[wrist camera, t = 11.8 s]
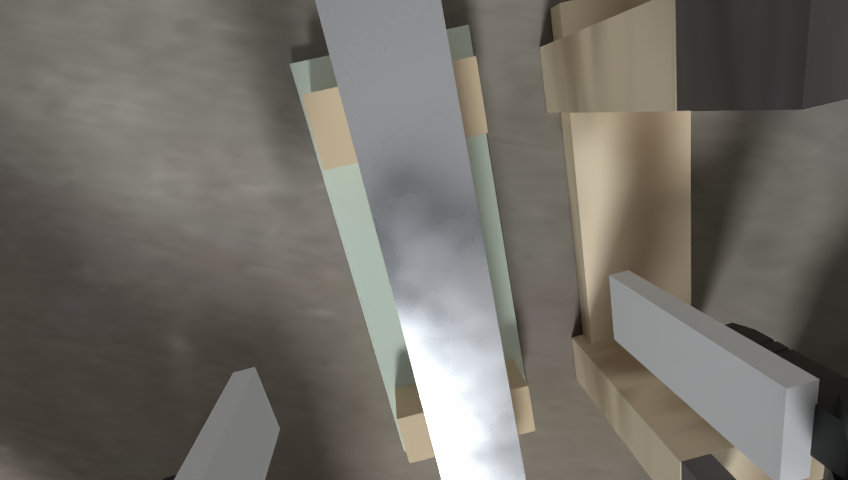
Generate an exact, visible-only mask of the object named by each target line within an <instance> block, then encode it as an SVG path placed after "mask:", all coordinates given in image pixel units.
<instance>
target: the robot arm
mask: <svg viewBox="0 0 848 480" xmlns="http://www.w3.org/2000/svg"><path fill="white" fill-rule="evenodd" d="M609 282H610V294H611V306H612V319H613V331H614V340H616V341H617V342H618V343H619V344H620V345H621V346H622V347H623V348H625V349H626V350H627V351H628V352H629V353H630V354H631V355H632V356H634V357H635V358H636V359H637V360H638V361H639V362H640V363H641V364H643V365H644V366H645V367H646V368H647V369H648V370H649V371H650V372H652V373H653V374H654V375H655V376H656V377H657V378H658V379H659V380H661V381H662V382H663V383H664V384H665V385H666V386H667V387H668V388H670V389H671V390H672V391H673V392H674V393H675V394H676V395H677V396H679V397H680V398H681V399H682V400H683V401H684V402H685V403H686V404H688V405H689V406H690V407H691V408H692V409H693V410H694V411H695V412H697V413H698V414H699V415H700V416H701V417H702V418H703V419H704V420H706V421H707V422H708V423H709V424H710V425H711V426H712V427H713V428H715V429H716V430H717V431H718V432H719V433H720V434H721V435H722V436H724V437H725V438H726V439H727V440H728V441H729V442H730V443H731V444H733V445H734V446H735V447H736V448H737V449H738V450H739V451H740V452H742V453H743V454H744V455H745V456H746V457H747V458H748V459H749V460H751V461H752V462H753V463H754V464H755V465H756V466H757V467H758V468H760V469H761V470H762V471H763V472H764V473H765V474H766V475H767V476H769V477H770V478H771V479H772V480H802V479H805V478H809V477H810V469H811V459H812V457H813V458H815V459H816V460H817V461H819V462H820V463H821V464H823V465H824V466H825V467H827V468H828V469H829V472H828V480H848V379H846V378H844V377H842V376H840V375H838V374H836V373H835V372H833V371H831V370H829V369H827V368H825V367H823V366H822V365H820V364H818V363H816V362H814V361H812V360H810V359H809V358H807V357H805V356H803V355H801V354H799V353H797V352H796V351H794V350H789V348H788V347H786V346H784V345H783V344H781V343H779V342H777V341H776V342H774V341H773V339H771V338H770V337H768V336H766V335H764V334H762V333H760V332H758V331H757V330H755V329H751V328H748V327H745V326H741V325H738V324H735V323H730V324H726V325H724V324H722V323H720V322H718V321H717V320H715V319H713V318H711V317H710V316H708V315H706V314H704V313H703V312H701V311H699V310H697V309H696V308H694V307H692V306H690V305H689V304H687V303H685V302H683V301H682V300H680V299H678V298H676V297H675V296H673V295H671V294H669V293H668V292H666V291H664V290H662V289H661V288H659V287H657V286H655V285H654V284H652V283H650V282H648V281H647V280H645V279H643V278H641V277H640V276H638V275H636V274H634V273H633V272H631V271H629V270H627V271H623V272H619V273H615V274H611V275H609ZM279 431H280V428H279V425H278V423H277V420H276V418H275V415H274V413H273V410H272V408H271V405H270V403H269V400H268V398H267V395H266V393H265V390H264V388H263V385H262V383H261V380H260V378H259V376H258V373H257V371H256V368H255V367H252V368H249V369H245V370H241V371H237V372H233V374H232V375H231V377H230V379H229V381H228V383H227V384H226V386H225V388H224V390H223V392H222V394H221V395H220V397H219V399H218V401H217V403H216V404H215V406H214V408H213V410H212V412H211V414H210V415H209V417H208V419H207V421H206V423H205V424H204V426H203V428H202V430H201V432H200V433H199V435H198V437H197V439H196V441H195V443H194V444H193V446H192V448H191V450H190V452H189V453H188V455H187V457H186V459H185V461H184V462H183V464H182V466H181V468H180V470H179V472H178V473H177V475H175V476H171V477H168V478H164V479H163V480H265V478H266V475H267V472H268V468H269V465H270V462H271V458H272V455H273V451H274V448H275V445H276V441H277V438H278V435H279Z"/></svg>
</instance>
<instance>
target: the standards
mask: <svg viewBox="0 0 848 480" xmlns="http://www.w3.org/2000/svg"><path fill="white" fill-rule="evenodd" d="M550 11H551V21H552V31H553V41H554V42H551V43H549V44H546V45H544V46H542V47H540V56H541V65H542V74H543V83H544V92H545V101H546V110H547V113H561V120H562V130H563V140H564V150H565V160H566V170H567V180H568V190H569V199H570V209H571V219H572V229H573V239H574V249H575V259H576V269H577V279H578V289H579V299H580V309H581V319H582V329H583V335H580V336H576V337H572V344H573V353H574V362H575V371H576V379H577V380H578V382H579V383H580V384H581V386H582V387H583V388H584V390H585V391H586V392H587V394H588V395H589V396H590V398H591V399H592V400H593V402H594V403H595V404H596V406H597V407H598V408H599V410H600V411H601V412H602V414H603V415H604V416H605V418H606V419H607V420H608V422H609V423H610V424H611V426H612V427H613V428H614V430H615V431H616V432H617V434H618V435H619V436H620V438H621V439H622V440H623V442H624V443H625V444H626V446H627V447H628V448H629V450H630V451H631V452H632V454H633V455H634V456H635V458H636V459H637V460H638V462H639V463H640V464H641V466H642V467H643V468H644V470H645V471H646V472H647V474H648V475H649V476H650V478H651V479H652V480H772V479H771V478H770V477H769V476H767V475H766V474H765V473H764V472H763V471H762V470H761V469H760V468H758V467H757V466H756V465H755V464H754V463H753V462H752V461H751V460H749V459H748V458H747V457H746V456H745V455H744V454H743V453H742V452H740V451H739V450H738V449H737V448H736V447H735V446H734V445H733V444H731V443H730V442H729V441H728V440H727V439H726V438H725V437H724V436H722V435H721V434H720V433H719V432H718V431H717V430H716V429H715V428H713V427H712V426H711V425H710V424H709V423H708V422H707V421H706V420H704V419H703V418H702V417H701V416H700V415H699V414H698V413H697V412H695V411H694V410H693V409H692V408H691V407H690V406H689V405H688V404H686V403H685V402H684V401H683V400H682V399H681V398H680V397H679V396H677V395H676V394H675V393H674V392H673V391H672V390H671V389H670V388H668V387H667V386H666V385H665V384H664V383H663V382H662V381H661V380H659V379H658V378H657V377H656V376H655V375H654V374H653V373H652V372H650V371H649V370H648V369H647V368H646V367H645V366H644V365H643V364H641V363H640V362H639V361H638V360H637V359H636V358H635V357H634V356H632V355H631V354H630V353H629V352H628V351H627V350H626V349H625V348H623V347H622V346H621V345H620V344H619V343H618V342H617V341H616V340H614V331H613V319H612V306H611V294H610V282H609V275H611V274H615V273H619V272H623V271H627V270H629V271H631V272H633V273H634V274H636V275H638V276H640V277H641V278H643V279H645V280H647V281H648V282H650V283H652V284H654V285H655V286H657V287H659V288H661V289H662V290H664V291H666V292H668V293H669V294H671V295H673V296H675V297H676V298H678V299H680V300H682V301H683V302H685V303H687V304H689V305H690V306H691V111H720V110H798V109H806V108H810V107H815V106H819V105H823V104H827V103H832V102H836V101H840V100H844V99H848V0H571V1H567V2H562V3H559V4H557V5H556V6H554V7H552V8H551V9H550ZM828 472H829V469H828V468H827V467H825V466H824V465H823V464H821V463H820V462H819V461H817V460H816V459H815V458H813V457H812V459H811V469H810V477H809V478H805V479H802V480H821V479H824V480H828Z"/></svg>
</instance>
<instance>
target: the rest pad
mask: <svg viewBox="0 0 848 480" xmlns="http://www.w3.org/2000/svg"><path fill="white" fill-rule="evenodd" d="M446 31H447V37H448V42H449V48H450V54H451V59H452V65H453V71H454V76H455V82H456V88H457V93H458V99H459V105H460V110H461V116H462V122H463V127H464V133H465V139H466V144H467V150H468V156H469V161H470V167H471V173H472V178H473V184H474V190H475V195H476V201H477V207H478V212H479V218H480V224H481V229H482V235H483V241H484V246H485V252H486V258H487V263H488V269H489V275H490V280H491V286H492V292H493V297H494V303H495V309H496V314H497V320H498V326H499V331H500V337H501V343H502V348H503V354H504V360H505V365H506V371H507V377H508V382H509V388H510V394H511V399H512V405H513V411H514V416H515V422H516V428H517V433H518V435H520V434H524V433H528V432H532V431H535V426H534V419H533V413H532V407H531V400H530V394H529V388H528V384H527V383H526V380H525V374H524V368H523V362H522V355H521V349H520V343H519V337H518V330H517V324H516V318H515V312H514V305H513V299H512V293H511V287H510V280H509V274H508V268H507V262H506V255H505V249H504V243H503V236H502V230H501V224H500V218H499V211H498V205H497V199H496V193H495V186H494V180H493V174H492V168H491V161H490V155H489V149H488V143H487V136H486V133H488V129H487V122H486V116H485V110H484V103H483V97H482V91H481V84H480V78H479V72H478V65H477V59H476V56H474V55H473V49H472V43H471V36H470V30H469V25H464V26H460V27H455V28H451V29H446ZM290 67H291V70H292V74H293V77H294V80H295V84H296V87H297V90H298V94H299V97H300V101H301V104H302V107H303V111H304V114H305V118H306V121H307V124H308V128H309V131H310V134H311V138H312V141H313V145H314V148H315V151H316V155H317V158H318V162H319V165H320V168H321V172H322V175H323V178H324V182H325V185H326V189H327V192H328V195H329V199H330V202H331V206H332V209H333V212H334V216H335V219H336V222H337V226H338V229H339V233H340V236H341V239H342V243H343V246H344V250H345V253H346V256H347V260H348V263H349V267H350V270H351V273H352V277H353V280H354V283H355V287H356V290H357V294H358V297H359V300H360V304H361V307H362V311H363V314H364V317H365V321H366V324H367V327H368V331H369V334H370V338H371V341H372V344H373V348H374V351H375V355H376V358H377V361H378V365H379V368H380V371H381V375H382V378H383V382H384V385H385V388H386V392H387V395H388V399H389V402H390V405H391V409H392V412H393V415H394V419H395V422H396V426H397V429H398V432H399V436H400V439H401V443H402V446H403V449H404V451H406V453H407V456H408V459H409V463H413V462H417V461H421V460H425V459H428V458H432V457H436V456H435V452H434V448H433V444H432V441H431V437H430V433H429V429H428V426H427V422H426V418H425V414H424V410H423V407H422V403H421V399H420V395H419V392H418V388H417V384H416V380H415V376H414V373H413V369H412V365H411V361H410V358H409V354H408V350H407V346H406V342H405V339H404V335H403V331H402V327H401V324H400V320H399V316H398V312H397V308H396V305H395V301H394V297H393V293H392V290H391V286H390V282H389V278H388V274H387V271H386V267H385V263H384V259H383V256H382V252H381V248H380V244H379V240H378V237H377V233H376V229H375V225H374V222H373V218H372V214H371V210H370V206H369V203H368V199H367V195H366V191H365V187H364V184H363V180H362V176H361V172H360V169H359V165H358V161H357V157H356V153H355V150H354V146H353V142H352V138H351V135H350V131H349V127H348V123H347V119H346V116H345V112H344V108H343V104H342V101H341V97H340V93H339V89H338V85H337V82H336V78H335V74H334V70H333V67H332V63H331V59H330V55H328V56H323V57H319V58H314V59H309V60H305V61H300V62H296V63H291V64H290Z"/></svg>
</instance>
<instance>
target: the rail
mask: <svg viewBox="0 0 848 480" xmlns="http://www.w3.org/2000/svg"><path fill="white" fill-rule="evenodd" d="M315 2H316V6H317V10H318V14H319V17H320V21H321V25H322V29H323V33H324V36H325V40H326V44H327V48H328V51H329V55H330V59H331V63H332V67H333V70H334V74H335V78H336V82H337V85H338V89H339V93H340V97H341V101H342V104H343V108H344V112H345V116H346V119H347V123H348V127H349V131H350V135H351V138H352V142H353V146H354V150H355V153H356V157H357V161H358V165H359V169H360V172H361V176H362V180H363V184H364V187H365V191H366V195H367V199H368V203H369V206H370V210H371V214H372V218H373V222H374V225H375V229H376V233H377V237H378V240H379V244H380V248H381V252H382V256H383V259H384V263H385V267H386V271H387V274H388V278H389V282H390V286H391V290H392V293H393V297H394V301H395V305H396V308H397V312H398V316H399V320H400V324H401V327H402V331H403V335H404V339H405V342H406V346H407V350H408V354H409V358H410V361H411V365H412V369H413V373H414V376H415V380H416V384H417V388H418V392H419V395H420V399H421V403H422V407H423V410H424V414H425V418H426V422H427V426H428V429H429V433H430V437H431V441H432V444H433V448H434V452H435V456H436V460H437V463H438V467H439V471H440V475H441V478H442V480H526V479H525V473H524V467H523V462H522V456H521V450H520V445H519V439H518V433H517V428H516V422H515V416H514V411H513V405H512V399H511V394H510V388H509V382H508V377H507V371H506V365H505V360H504V354H503V348H502V343H501V337H500V331H499V326H498V320H497V314H496V309H495V303H494V297H493V292H492V286H491V280H490V275H489V269H488V263H487V258H486V252H485V246H484V241H483V235H482V229H481V224H480V218H479V212H478V207H477V201H476V195H475V190H474V184H473V178H472V173H471V167H470V161H469V156H468V150H467V144H466V139H465V133H464V127H463V122H462V116H461V110H460V105H459V99H458V93H457V88H456V82H455V76H454V71H453V65H452V59H451V54H450V48H449V42H448V37H447V31H446V25H445V20H444V14H443V8H442V3H441V0H315Z"/></svg>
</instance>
